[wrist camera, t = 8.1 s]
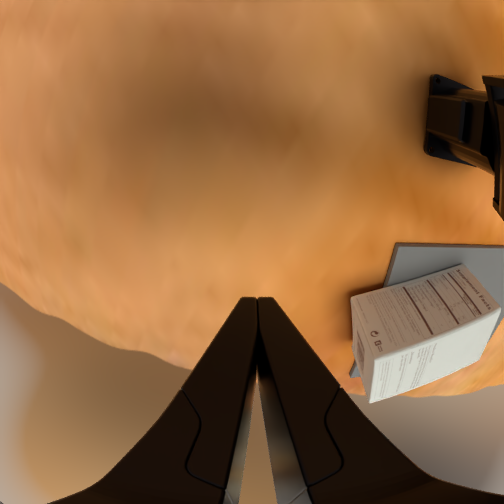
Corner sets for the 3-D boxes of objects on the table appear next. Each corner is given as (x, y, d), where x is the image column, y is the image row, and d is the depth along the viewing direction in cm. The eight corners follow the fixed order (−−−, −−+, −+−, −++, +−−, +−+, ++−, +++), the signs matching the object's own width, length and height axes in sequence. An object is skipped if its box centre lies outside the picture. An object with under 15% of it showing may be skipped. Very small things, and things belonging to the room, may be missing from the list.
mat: (532, 246, 22) (535, 249, 21) (481, 347, 31) (482, 349, 30) (395, 242, 21) (398, 246, 21) (349, 374, 31) (350, 377, 30)
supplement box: (350, 346, 27) (450, 315, 25) (367, 406, 20) (480, 362, 19) (348, 293, 23) (463, 261, 22) (374, 358, 17) (504, 308, 15)
